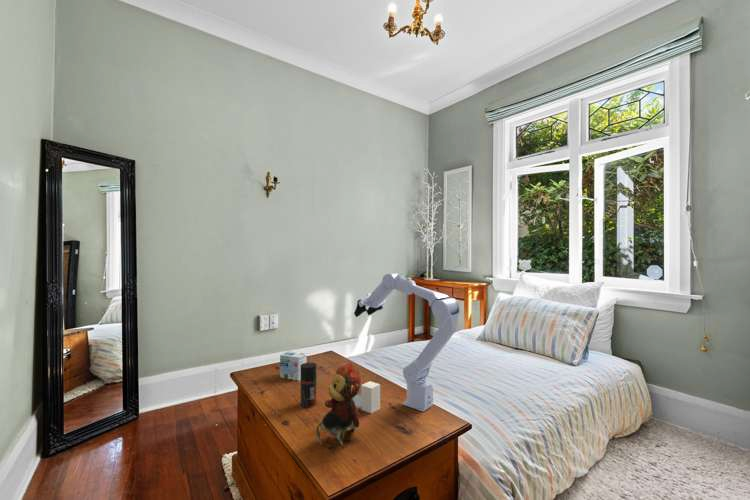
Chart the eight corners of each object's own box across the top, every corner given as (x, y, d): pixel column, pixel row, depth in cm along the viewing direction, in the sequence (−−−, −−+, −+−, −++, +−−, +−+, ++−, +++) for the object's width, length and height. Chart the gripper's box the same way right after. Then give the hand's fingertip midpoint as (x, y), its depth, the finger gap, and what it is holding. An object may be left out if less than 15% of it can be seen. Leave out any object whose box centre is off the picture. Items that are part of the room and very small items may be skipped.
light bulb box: (279, 378, 158) (279, 354, 158) (288, 373, 164) (288, 350, 164) (298, 381, 154) (298, 357, 154) (307, 376, 160) (307, 353, 160)
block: (380, 408, 127) (380, 384, 127) (371, 413, 123) (371, 388, 123) (370, 404, 130) (369, 381, 130) (361, 409, 126) (361, 385, 126)
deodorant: (309, 409, 126) (308, 368, 127) (297, 405, 130) (297, 366, 130) (319, 403, 132) (319, 364, 132) (308, 399, 135) (308, 361, 135)
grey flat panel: (373, 401, 133) (373, 400, 133) (353, 411, 124) (353, 410, 124) (349, 392, 141) (348, 391, 141) (329, 401, 133) (329, 400, 133)
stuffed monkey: (342, 415, 118) (355, 348, 114) (372, 448, 106) (387, 374, 102) (303, 427, 109) (315, 355, 105) (330, 465, 96) (345, 385, 92)
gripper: (386, 286, 149) (369, 305, 155) (362, 287, 138) (345, 308, 145) (394, 299, 146) (376, 318, 152) (371, 301, 135) (353, 321, 141)
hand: (361, 314), depth 148 cm, fingers open, 7 cm apart
